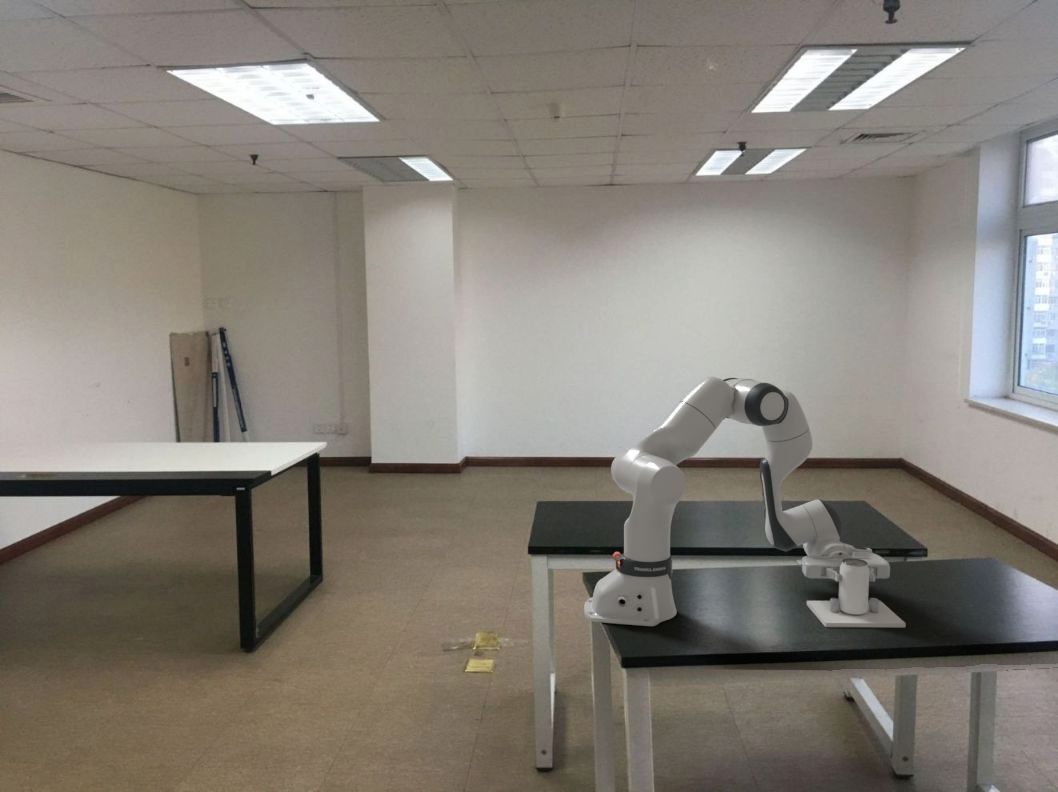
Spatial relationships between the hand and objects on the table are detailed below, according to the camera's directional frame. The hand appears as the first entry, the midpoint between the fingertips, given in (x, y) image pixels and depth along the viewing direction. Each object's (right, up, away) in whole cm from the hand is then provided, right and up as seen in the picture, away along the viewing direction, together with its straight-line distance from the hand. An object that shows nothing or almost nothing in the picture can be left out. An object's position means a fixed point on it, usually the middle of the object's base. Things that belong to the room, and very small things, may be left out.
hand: (856, 578), depth 180 cm
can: (0, -8, +2) cm, 9 cm away
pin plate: (0, -9, +2) cm, 9 cm away
